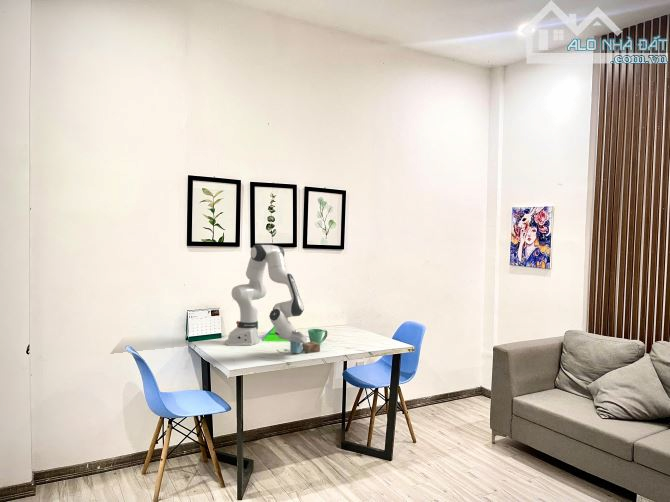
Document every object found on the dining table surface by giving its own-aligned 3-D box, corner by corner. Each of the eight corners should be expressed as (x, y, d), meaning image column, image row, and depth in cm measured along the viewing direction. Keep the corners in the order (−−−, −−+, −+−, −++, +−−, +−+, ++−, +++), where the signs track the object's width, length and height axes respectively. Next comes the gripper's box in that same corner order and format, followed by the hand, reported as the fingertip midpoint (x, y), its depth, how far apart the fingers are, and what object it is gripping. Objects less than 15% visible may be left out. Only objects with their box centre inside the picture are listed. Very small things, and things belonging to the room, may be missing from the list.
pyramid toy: (266, 334, 345) (266, 314, 344) (300, 334, 345) (300, 315, 344) (261, 342, 320) (261, 321, 319) (298, 342, 320) (298, 321, 319)
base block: (308, 353, 290) (308, 345, 290) (302, 350, 297) (302, 342, 297) (319, 352, 295) (319, 344, 294) (313, 349, 301) (313, 341, 301)
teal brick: (296, 353, 286) (297, 338, 286) (290, 351, 289) (290, 337, 289) (301, 351, 290) (302, 337, 290) (295, 350, 293) (295, 335, 293)
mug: (314, 348, 304) (314, 332, 304) (304, 345, 311) (305, 329, 311) (331, 344, 314) (331, 329, 313) (321, 342, 321) (322, 327, 321)
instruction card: (280, 352, 291) (280, 352, 291) (276, 350, 297) (276, 349, 297) (295, 351, 295) (295, 350, 295) (291, 348, 301) (291, 348, 301)
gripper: (302, 328, 277) (312, 342, 286) (276, 323, 289) (286, 336, 297) (297, 337, 274) (307, 350, 282) (271, 332, 285) (281, 345, 294)
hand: (296, 343), depth 290 cm, fingers closed on teal brick, 5 cm apart
